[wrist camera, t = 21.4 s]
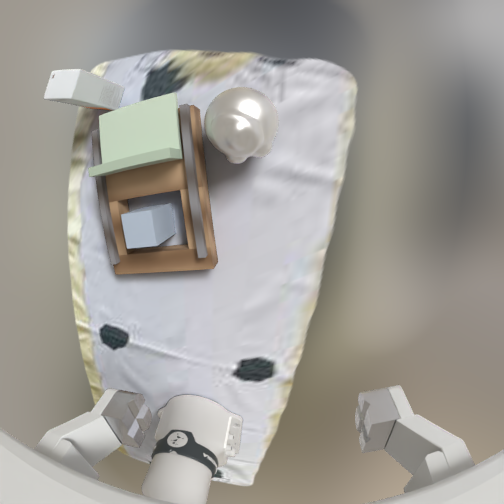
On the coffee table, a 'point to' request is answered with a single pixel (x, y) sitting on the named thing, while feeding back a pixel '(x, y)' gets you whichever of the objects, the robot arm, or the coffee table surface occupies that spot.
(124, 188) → the wooden box frame
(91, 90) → the skincare box
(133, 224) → the block
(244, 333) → the coffee table surface
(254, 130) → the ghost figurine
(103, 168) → the lid
